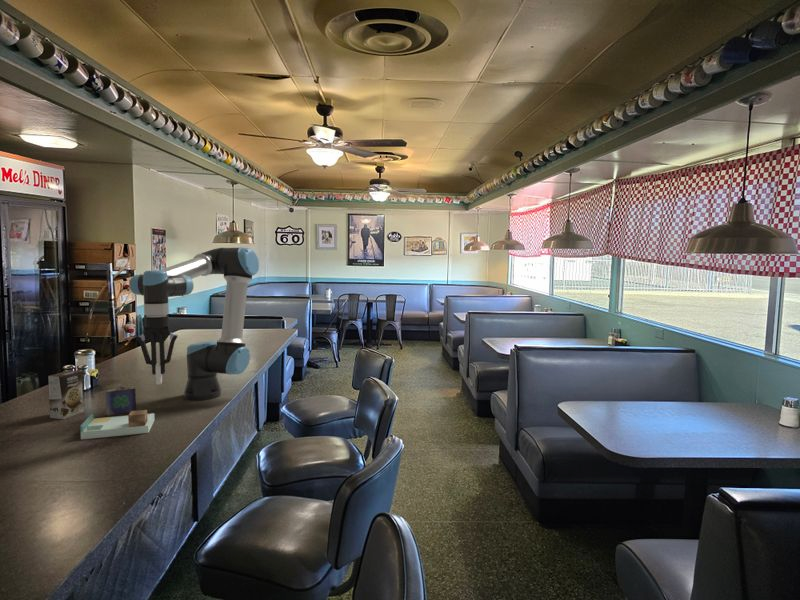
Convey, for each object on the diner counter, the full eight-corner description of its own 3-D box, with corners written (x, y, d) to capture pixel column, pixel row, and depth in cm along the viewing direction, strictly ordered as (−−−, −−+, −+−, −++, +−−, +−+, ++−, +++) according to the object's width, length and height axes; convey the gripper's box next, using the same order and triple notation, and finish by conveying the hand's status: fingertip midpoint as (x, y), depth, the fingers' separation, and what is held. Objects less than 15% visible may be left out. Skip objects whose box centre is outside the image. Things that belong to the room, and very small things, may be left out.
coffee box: (64, 419, 182) (61, 376, 181) (49, 418, 183) (47, 375, 182) (84, 412, 191) (82, 370, 189) (70, 410, 192) (68, 370, 191)
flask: (106, 416, 186) (105, 386, 185) (106, 414, 188) (105, 384, 187) (136, 412, 191) (135, 383, 190) (136, 410, 193) (135, 381, 192)
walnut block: (147, 420, 174) (147, 409, 173) (145, 425, 169) (144, 414, 168) (131, 422, 172) (131, 411, 172) (128, 427, 167) (128, 415, 167)
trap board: (154, 419, 182) (154, 408, 182) (148, 432, 169) (147, 420, 169) (92, 425, 176) (91, 413, 175) (80, 439, 163) (80, 426, 162)
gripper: (178, 313, 175) (180, 379, 177) (137, 315, 171) (140, 382, 173) (176, 316, 168) (178, 384, 170) (133, 317, 164) (136, 387, 166)
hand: (159, 383), depth 171 cm, fingers closed
